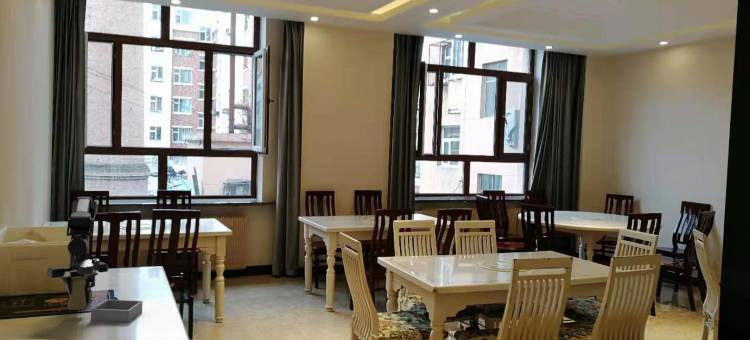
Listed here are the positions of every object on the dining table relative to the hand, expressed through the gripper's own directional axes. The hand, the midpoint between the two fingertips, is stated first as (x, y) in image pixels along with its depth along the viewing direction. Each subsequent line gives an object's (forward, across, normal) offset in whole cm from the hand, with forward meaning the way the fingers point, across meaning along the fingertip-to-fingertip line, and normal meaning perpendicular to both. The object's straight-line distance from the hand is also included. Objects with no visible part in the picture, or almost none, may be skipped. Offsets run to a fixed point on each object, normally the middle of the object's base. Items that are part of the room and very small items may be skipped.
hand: (77, 293), depth 197 cm
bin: (+8, +11, -8) cm, 16 cm away
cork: (+5, 0, 0) cm, 5 cm away
